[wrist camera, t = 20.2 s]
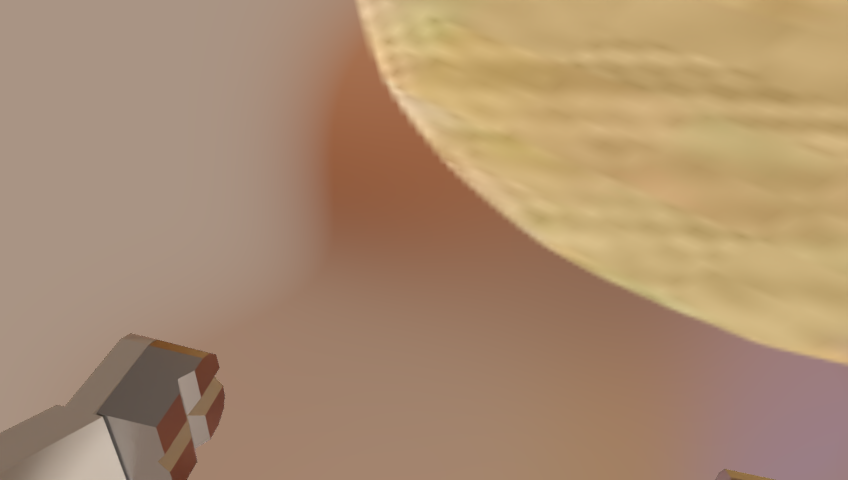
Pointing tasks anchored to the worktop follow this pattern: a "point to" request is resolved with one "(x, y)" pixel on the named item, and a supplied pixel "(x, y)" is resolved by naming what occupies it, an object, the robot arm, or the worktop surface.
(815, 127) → the worktop surface
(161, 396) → the robot arm
